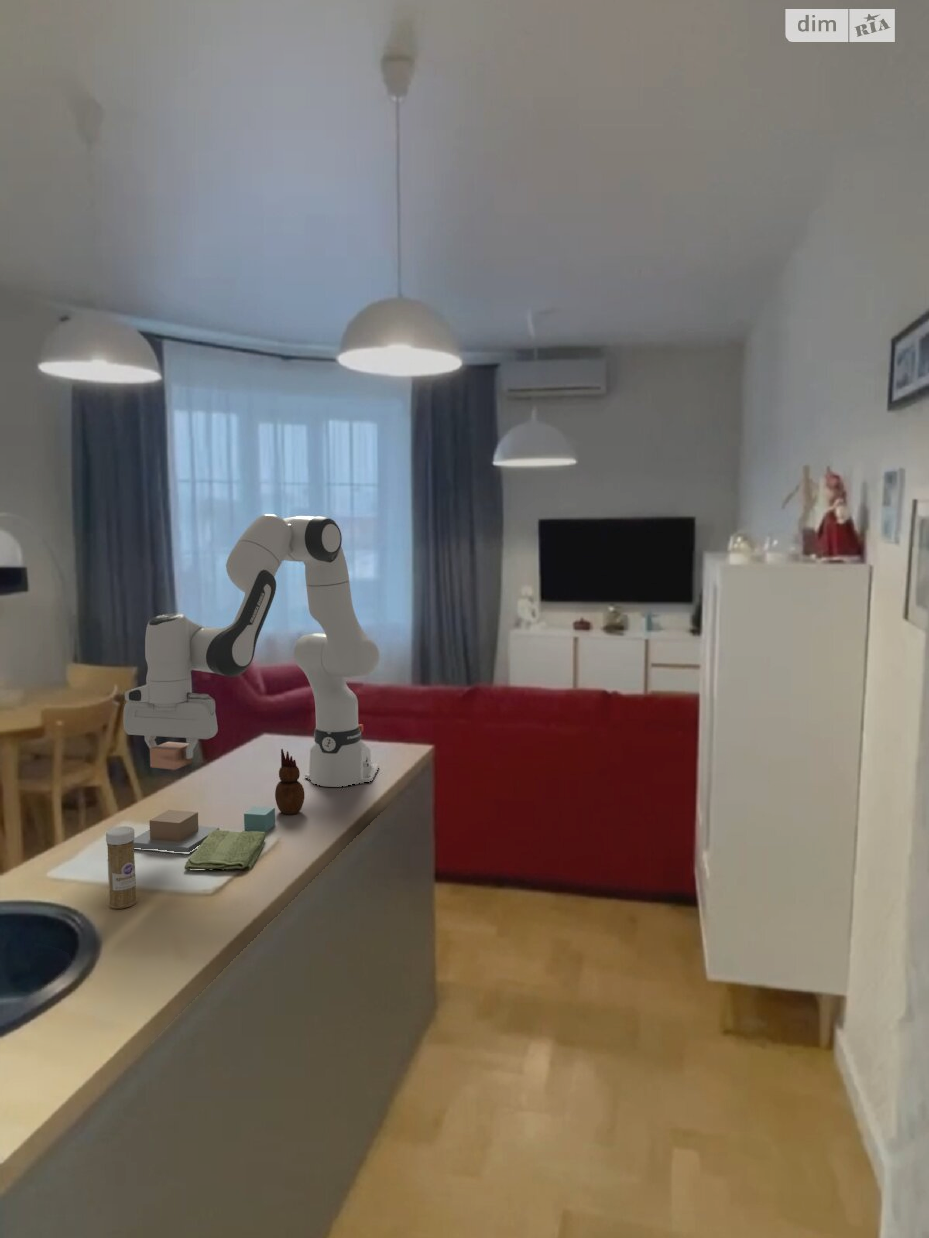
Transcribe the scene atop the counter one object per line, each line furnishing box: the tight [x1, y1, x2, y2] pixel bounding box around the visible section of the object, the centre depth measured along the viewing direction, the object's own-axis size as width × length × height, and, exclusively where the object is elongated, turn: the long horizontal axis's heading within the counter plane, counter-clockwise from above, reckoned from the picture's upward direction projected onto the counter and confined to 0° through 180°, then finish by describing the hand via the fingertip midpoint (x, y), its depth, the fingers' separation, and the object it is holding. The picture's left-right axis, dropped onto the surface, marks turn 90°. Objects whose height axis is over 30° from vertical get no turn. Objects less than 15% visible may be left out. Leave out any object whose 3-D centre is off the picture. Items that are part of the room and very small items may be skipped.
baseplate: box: [133, 809, 220, 852], centre depth 175 cm, size 12×14×6 cm
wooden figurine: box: [274, 748, 305, 815], centre depth 193 cm, size 7×6×15 cm
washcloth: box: [184, 829, 267, 871], centre depth 167 cm, size 13×18×3 cm
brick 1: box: [149, 741, 194, 771], centre depth 173 cm, size 6×6×4 cm
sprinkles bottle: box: [105, 825, 138, 910], centre depth 144 cm, size 5×5×14 cm
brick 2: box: [243, 806, 276, 833], centre depth 183 cm, size 5×5×4 cm
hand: (171, 757), depth 173 cm, fingers closed on brick 1, 6 cm apart
